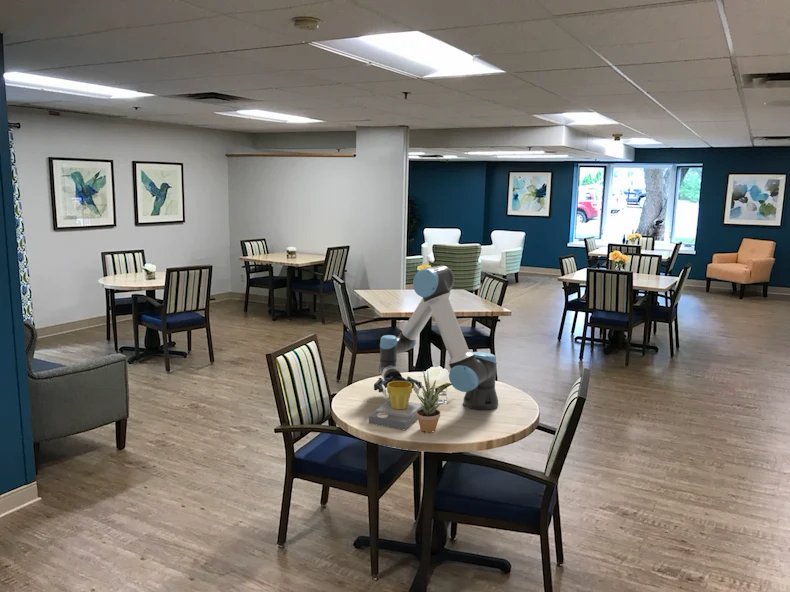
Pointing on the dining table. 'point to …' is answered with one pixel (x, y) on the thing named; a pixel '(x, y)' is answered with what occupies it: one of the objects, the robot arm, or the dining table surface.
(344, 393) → the dining table surface
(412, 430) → the dining table surface
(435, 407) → the potted plant
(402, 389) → the plant pot
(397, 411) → the kitchen scale
